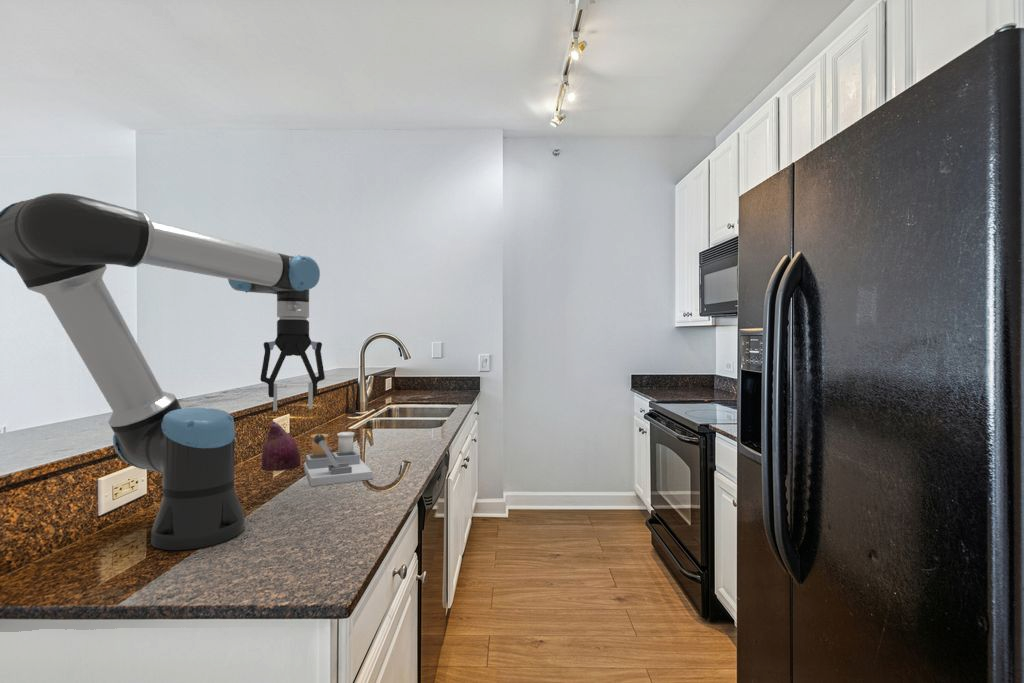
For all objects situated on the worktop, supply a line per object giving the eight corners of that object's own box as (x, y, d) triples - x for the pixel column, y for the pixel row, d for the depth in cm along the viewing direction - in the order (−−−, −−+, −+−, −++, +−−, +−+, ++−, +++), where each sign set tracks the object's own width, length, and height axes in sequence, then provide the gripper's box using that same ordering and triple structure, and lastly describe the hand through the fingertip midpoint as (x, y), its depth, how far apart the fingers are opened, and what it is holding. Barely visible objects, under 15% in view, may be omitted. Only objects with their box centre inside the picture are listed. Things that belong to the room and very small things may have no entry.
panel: (311, 486, 130) (311, 468, 130) (304, 469, 146) (304, 453, 146) (372, 479, 137) (372, 462, 137) (358, 463, 153) (358, 448, 153)
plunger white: (338, 453, 143) (338, 435, 143) (336, 450, 147) (336, 432, 147) (355, 451, 145) (355, 433, 145) (352, 448, 149) (352, 431, 149)
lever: (334, 472, 135) (312, 439, 132) (332, 469, 137) (311, 437, 135) (343, 466, 136) (322, 433, 133) (341, 464, 138) (320, 431, 136)
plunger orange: (311, 455, 140) (311, 437, 140) (309, 452, 144) (309, 434, 144) (329, 454, 142) (329, 436, 142) (327, 450, 146) (327, 433, 146)
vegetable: (276, 483, 143) (267, 434, 139) (255, 473, 149) (246, 425, 145) (309, 466, 152) (302, 420, 147) (288, 457, 157) (280, 412, 153)
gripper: (248, 317, 123) (247, 413, 123) (337, 319, 132) (337, 408, 133) (247, 318, 130) (247, 409, 130) (333, 320, 139) (333, 405, 139)
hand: (293, 409), depth 131 cm, fingers open, 8 cm apart
